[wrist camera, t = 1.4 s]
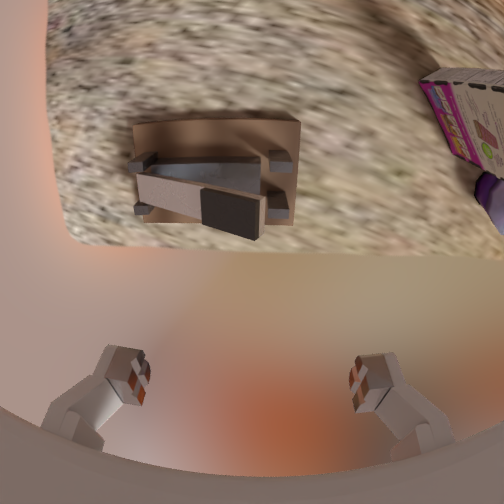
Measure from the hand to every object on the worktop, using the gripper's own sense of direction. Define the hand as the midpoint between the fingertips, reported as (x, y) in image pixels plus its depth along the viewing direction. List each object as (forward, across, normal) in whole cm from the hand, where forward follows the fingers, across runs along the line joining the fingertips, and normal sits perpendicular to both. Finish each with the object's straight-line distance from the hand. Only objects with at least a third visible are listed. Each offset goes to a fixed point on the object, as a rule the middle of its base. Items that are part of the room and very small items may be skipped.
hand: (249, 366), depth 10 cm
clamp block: (+24, +5, 0) cm, 24 cm away
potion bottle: (+26, -34, -1) cm, 43 cm away
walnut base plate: (+26, +5, 0) cm, 26 cm away
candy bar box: (+26, -24, -10) cm, 37 cm away
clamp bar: (+17, +5, 0) cm, 18 cm away
